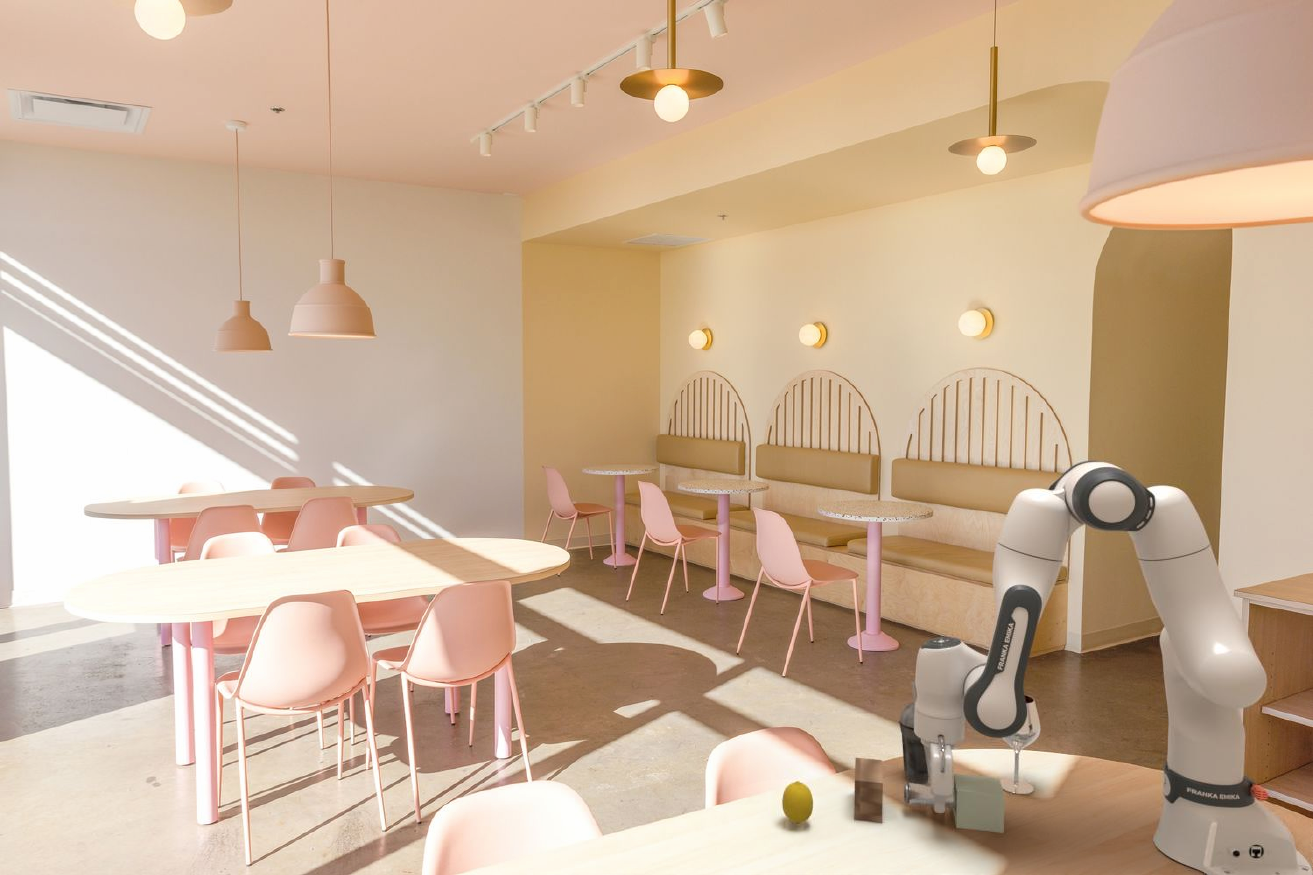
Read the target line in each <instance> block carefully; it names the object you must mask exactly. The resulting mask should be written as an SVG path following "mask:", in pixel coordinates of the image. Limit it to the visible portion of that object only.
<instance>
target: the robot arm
mask: <svg viewBox="0 0 1313 875" xmlns="http://www.w3.org/2000/svg"><path fill="white" fill-rule="evenodd" d="M1085 525H1087V526H1088V527H1090V528H1092V529H1095V530H1099V531H1103V532H1127V533H1128V535H1129V537H1130V539H1131V540H1132V543H1133V546H1134V550H1135V554H1136V556H1137V559H1138V560H1137V561H1138V563H1139V566H1140V569H1141V571H1142V575H1143V577H1144V581H1145V584H1146V587H1147V590H1148V593H1149V596H1150V599H1151V602H1152V604H1153V605H1154V607H1155V609H1156V612H1157V614H1158V616H1159V617H1160V620H1161V623H1162V624H1163V626H1164V627H1163V628H1162V630H1161V632H1160V635H1159V646H1160V650H1161V655H1162V656H1161V657H1162V668H1163V680H1164V689H1165V696H1166V697H1165V698H1166V704H1167V705H1166V706H1167V715H1168V731H1167V732H1168V733H1167V736H1168V737H1167V759H1166V761H1165V762H1164V766H1163V774H1162V793H1163V797H1164V798H1163V805H1162V809H1161V814H1160V818H1159V822H1158V826H1157V828H1156V829H1155V833H1154V836H1153V839H1152V840H1153V843H1154V845H1155V847H1156V848H1157V849H1158V850H1160V852H1162V853H1163V854H1164V855H1166V856H1167V857H1169V859H1170V858H1171V859H1172V860H1175V861H1176V862H1179V863H1180V864H1183V865H1186V866H1187V867H1190V868H1193V869H1196V870H1198V871H1199V872H1200V871H1201V872H1203V873H1204V874H1206V875H1313V868H1312V866H1311V864H1310V863H1309V862H1308V860H1307V859H1306V858H1305V856H1304V855H1303V854H1302V853H1301V852H1299V851H1298V849H1296V843H1295V839H1294V837H1293V834H1292V833H1291V831H1290V829H1289V828H1288V826H1287V825H1286V824H1285V823H1284V822H1283V821H1282V820H1281V819H1280V817H1278V816H1277V815H1276V814H1275V813H1274V812H1272V811H1271V810H1270V809H1268V808H1267V807H1266V806H1265V805H1263V804H1262V803H1261V802H1266V801H1267V799H1268V797H1269V793H1268V791H1267V790H1266V789H1264V787H1262V786H1261V785H1259V784H1256V782H1255V781H1254V779H1252V778H1251V777H1249V776H1248V775H1246V774H1245V773H1244V772H1245V755H1246V754H1245V753H1246V751H1245V750H1246V731H1245V730H1246V729H1245V726H1244V724H1243V721H1242V716H1241V712H1240V709H1244V708H1248V707H1251V706H1253V705H1255V704H1256V703H1257V702H1258V701H1260V699H1262V697H1263V695H1265V692H1266V689H1267V684H1268V679H1267V677H1268V676H1267V673H1266V670H1265V668H1264V666H1263V665H1262V662H1261V661H1260V659H1259V656H1258V655H1257V653H1256V651H1255V649H1254V646H1253V643H1252V641H1251V639H1250V637H1249V634H1248V632H1247V631H1246V628H1245V626H1244V623H1243V621H1242V620H1241V617H1240V616H1239V613H1238V611H1237V610H1236V608H1235V606H1234V604H1233V601H1232V600H1231V598H1230V595H1229V593H1228V591H1227V589H1226V586H1225V583H1224V580H1223V577H1222V574H1221V572H1220V569H1219V566H1218V563H1217V559H1216V558H1215V555H1214V551H1213V549H1212V544H1211V542H1210V538H1209V537H1208V534H1207V531H1206V529H1205V526H1204V524H1203V522H1202V520H1201V518H1200V516H1199V513H1198V512H1197V510H1196V508H1195V506H1194V504H1193V502H1192V501H1191V499H1190V498H1189V496H1188V495H1187V493H1186V492H1185V491H1184V490H1182V489H1180V488H1178V487H1175V486H1171V485H1170V486H1169V485H1153V486H1150V487H1146V486H1145V485H1144V484H1142V483H1141V482H1140V481H1139V480H1138V479H1137V478H1135V476H1133V475H1132V474H1130V473H1129V472H1127V471H1126V470H1123V469H1122V468H1121V467H1118V465H1117V466H1116V465H1115V464H1112V463H1109V462H1105V461H1098V460H1084V461H1080V462H1077V463H1075V464H1074V465H1072V466H1071V467H1069V468H1068V469H1067V470H1066V471H1064V473H1062V475H1061V476H1059V477H1058V478H1057V479H1056V480H1055V481H1054V482H1053V483H1052V484H1051V485H1050V486H1049V488H1048V489H1045V488H1039V487H1038V488H1029V489H1024V490H1023V491H1020V492H1019V493H1018V494H1016V496H1015V498H1014V499H1013V501H1012V503H1011V505H1010V507H1009V510H1008V511H1007V514H1006V515H1005V519H1004V521H1003V524H1002V526H1001V529H1000V532H999V535H998V539H997V542H996V546H995V550H994V555H993V562H992V576H991V577H992V578H991V580H992V587H993V593H994V594H993V595H994V599H995V602H994V603H995V615H996V616H995V624H994V630H993V634H992V638H991V642H990V645H989V650H988V654H987V655H985V654H983V653H980V652H979V651H976V650H975V649H973V648H971V647H969V646H968V645H967V644H966V643H964V641H962V640H961V639H959V638H955V637H951V636H940V637H934V638H931V639H928V640H926V641H925V642H923V643H922V645H920V647H919V649H918V652H917V658H916V663H915V664H916V665H915V679H914V681H915V682H914V687H915V690H916V702H915V712H914V733H915V734H916V736H918V737H919V738H921V743H922V744H923V745H924V749H925V755H926V762H927V769H928V775H929V777H928V782H929V785H930V789H931V794H932V796H934V806H933V810H934V812H935V813H939V814H943V813H945V812H946V811H945V809H946V808H945V802H946V798H951V797H952V795H953V786H954V758H953V757H954V756H953V752H952V750H954V749H956V748H957V745H958V744H959V743H961V742H962V741H963V740H964V739H965V723H966V722H965V721H967V723H968V724H969V725H970V727H972V728H973V730H974V731H976V732H978V733H979V734H981V735H983V736H986V737H989V738H994V739H1003V738H1004V737H1008V736H1011V735H1013V734H1015V733H1017V732H1018V731H1019V730H1020V729H1021V728H1022V727H1023V725H1024V723H1025V721H1026V718H1027V705H1026V700H1025V696H1024V695H1025V692H1024V683H1025V676H1026V672H1027V668H1028V663H1029V660H1030V656H1031V652H1032V646H1033V643H1034V640H1035V635H1036V632H1037V627H1038V625H1039V623H1040V620H1041V618H1042V615H1043V614H1044V610H1045V608H1046V605H1047V603H1048V600H1049V598H1050V596H1051V594H1052V592H1053V589H1054V587H1055V585H1056V582H1057V580H1058V577H1059V574H1060V572H1061V568H1062V565H1063V562H1064V558H1065V555H1066V550H1067V545H1068V543H1069V541H1070V539H1071V538H1072V536H1073V534H1074V533H1075V532H1076V531H1077V530H1078V529H1079V528H1081V527H1083V526H1085Z"/></svg>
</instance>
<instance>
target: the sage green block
mask: <svg viewBox="0 0 1313 875" xmlns="http://www.w3.org/2000/svg"><path fill="white" fill-rule="evenodd" d="M1000 781H1001V779H1000V778H999V777H989V776H981V775H971V774H962V773H953V788H956V791H957V797H956V809H952V811H953V817H954V823H955V826H956V827H955V828H957V829H965V830H974V831H982V832H991V833H1000V834H1004V833H1005V830H1004V829H1005V800H1006V798H1005V797H1006V796H1005V792H1004V790H1003V789H1002V786H1001V783H1000Z"/></svg>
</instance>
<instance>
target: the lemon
mask: <svg viewBox="0 0 1313 875" xmlns="http://www.w3.org/2000/svg"><path fill="white" fill-rule="evenodd" d="M782 794H783V795H782V799H781V800H782V802H781V803H782V804H781V805H782V806H781V807H782V810H783V813H784V815H785V817H786V818H787V819H788V820H789V821H791V822H793V823H795V825H800V824H802V823H804V822H806V821H807V820H809V818H810V817H811V816H812V814H813V808H814V801H813V800H814V799H813V795H812V792H811V790H810V787H808V786H807V785H806V784H805V783H803V782H800V781H799V780H796V781H794V782H791V783H790V784H788V785H787V786H786V787H785V789H784V791H783V793H782Z"/></svg>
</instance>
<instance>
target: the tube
mask: <svg viewBox="0 0 1313 875" xmlns="http://www.w3.org/2000/svg"><path fill="white" fill-rule="evenodd" d="M956 797H957V791H956V788H953V795H952V797H951V798H946V802H945V809H952V810H953V809H956ZM903 804H908V805H915V806H917V805H918V806H927V807H934V796H932V794H931V789H930V784H914V783H911V782H903Z"/></svg>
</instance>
